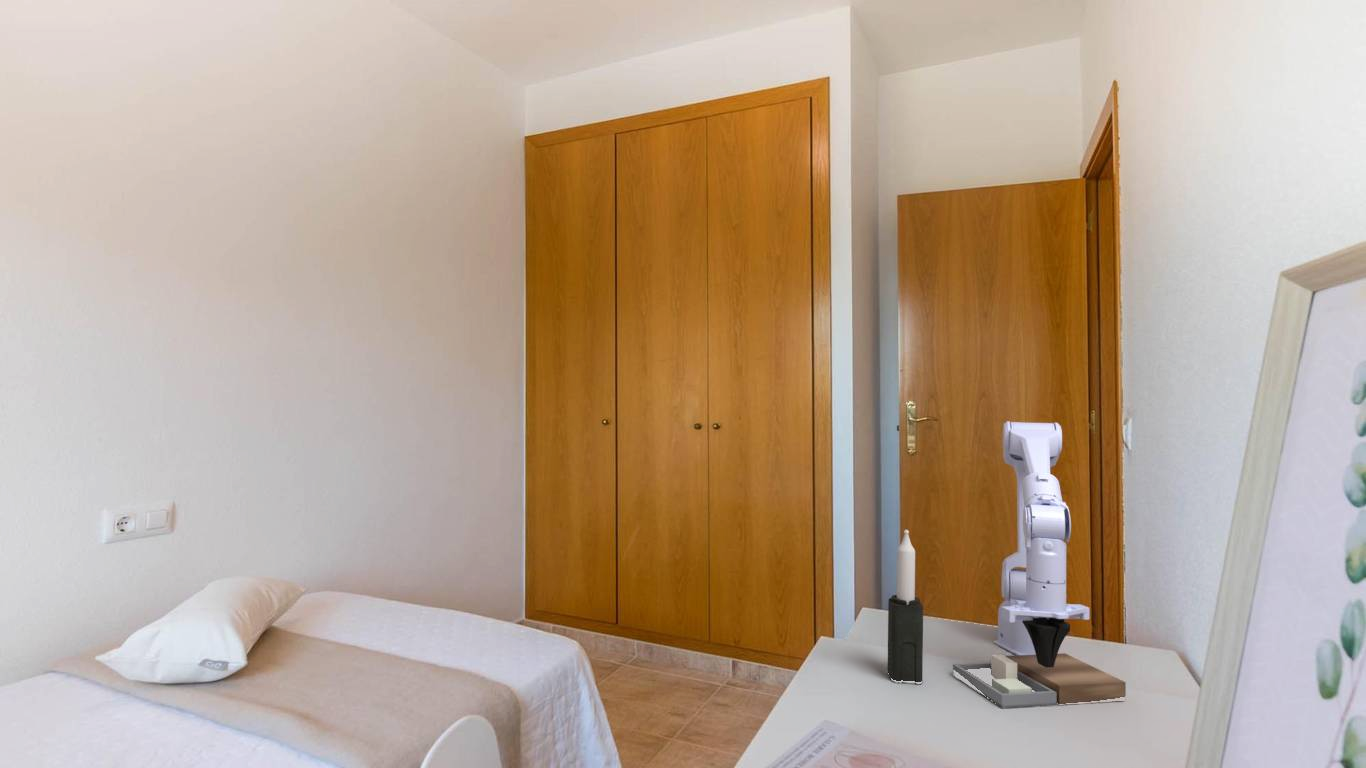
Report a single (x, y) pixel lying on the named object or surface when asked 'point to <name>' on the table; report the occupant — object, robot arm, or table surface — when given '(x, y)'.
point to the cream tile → (1003, 667)
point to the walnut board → (1071, 679)
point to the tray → (1009, 700)
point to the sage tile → (1010, 686)
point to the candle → (905, 620)
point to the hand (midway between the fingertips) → (1045, 665)
